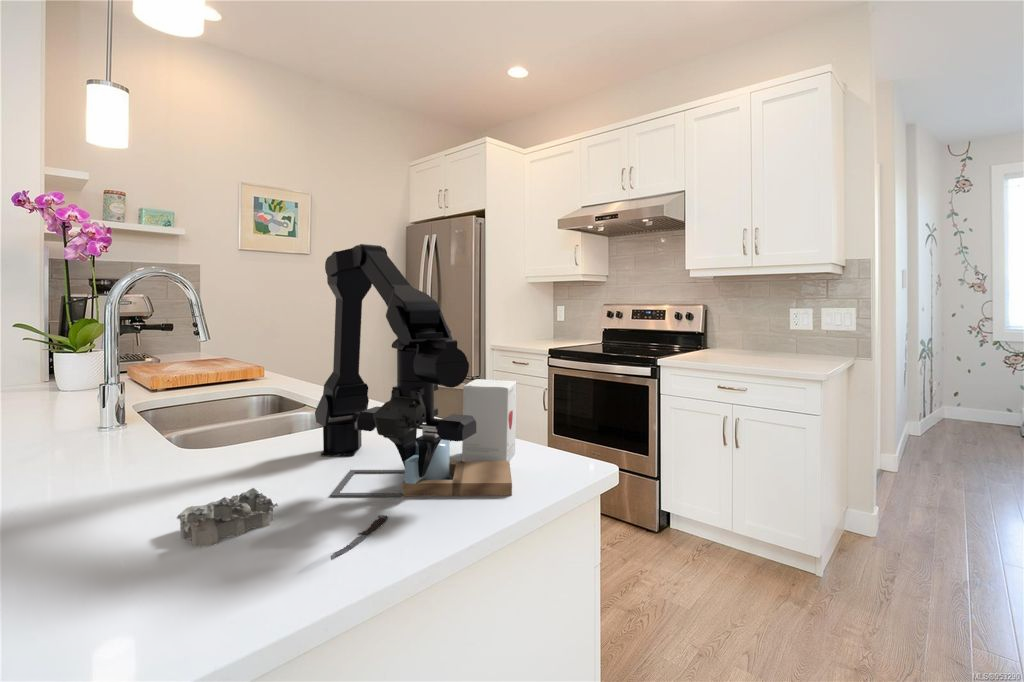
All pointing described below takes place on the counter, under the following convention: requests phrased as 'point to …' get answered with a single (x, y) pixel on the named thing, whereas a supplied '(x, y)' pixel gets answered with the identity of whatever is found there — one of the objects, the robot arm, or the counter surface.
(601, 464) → the counter surface
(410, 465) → the jug
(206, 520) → the egg carton
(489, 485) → the cradle
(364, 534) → the knife
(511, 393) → the supplement box
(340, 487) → the frame
